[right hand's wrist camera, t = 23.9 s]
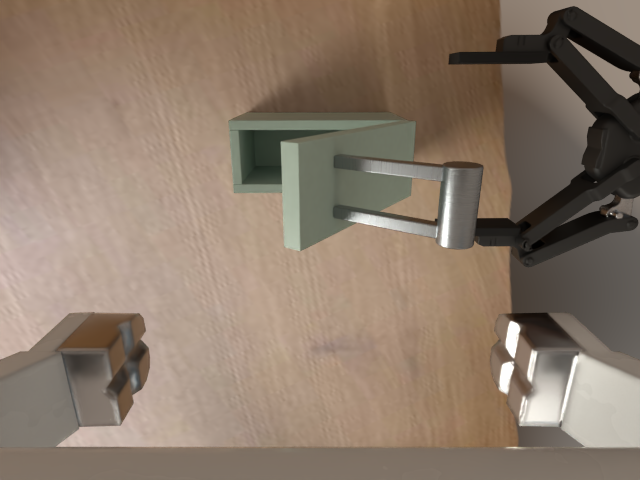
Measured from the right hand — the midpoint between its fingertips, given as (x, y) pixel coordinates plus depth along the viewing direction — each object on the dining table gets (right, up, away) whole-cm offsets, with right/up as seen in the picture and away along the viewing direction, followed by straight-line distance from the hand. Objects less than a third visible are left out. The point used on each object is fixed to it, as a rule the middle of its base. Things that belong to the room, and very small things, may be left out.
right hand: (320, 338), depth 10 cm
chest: (0, +12, +32) cm, 34 cm away
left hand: (+10, +10, +26) cm, 29 cm away
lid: (+2, +7, +18) cm, 19 cm away
